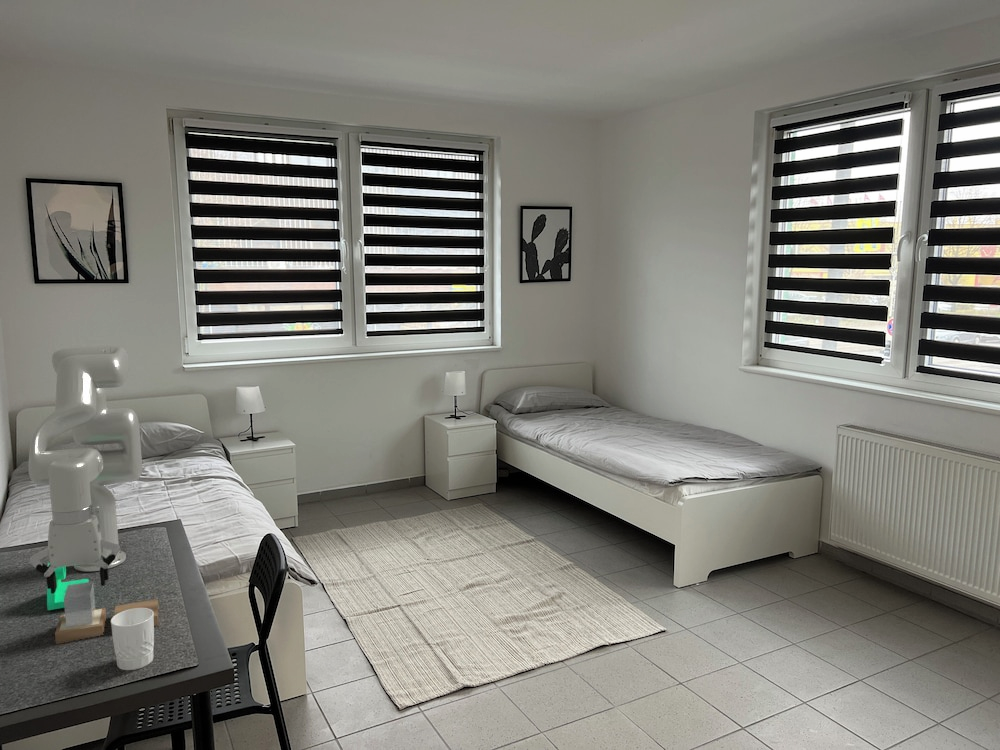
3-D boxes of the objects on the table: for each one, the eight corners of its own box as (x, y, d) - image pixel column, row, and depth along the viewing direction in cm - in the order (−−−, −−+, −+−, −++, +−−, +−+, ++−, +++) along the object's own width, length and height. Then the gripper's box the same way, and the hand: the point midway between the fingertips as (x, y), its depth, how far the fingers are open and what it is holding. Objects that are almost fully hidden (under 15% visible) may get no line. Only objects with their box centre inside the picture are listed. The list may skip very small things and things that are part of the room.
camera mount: (85, 608, 173) (81, 567, 171) (48, 614, 170) (44, 573, 168) (89, 588, 184) (86, 549, 182) (55, 593, 181) (51, 554, 179)
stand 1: (61, 625, 165) (60, 614, 164) (106, 617, 168) (105, 606, 168) (55, 644, 156) (54, 632, 156) (103, 635, 160) (102, 624, 160)
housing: (70, 614, 164) (67, 585, 163) (95, 610, 166) (93, 581, 165) (66, 628, 158) (63, 598, 157) (92, 624, 160) (90, 594, 159)
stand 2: (116, 615, 169) (115, 605, 169) (158, 608, 173) (157, 598, 172) (113, 633, 161) (112, 623, 161) (158, 626, 165) (157, 615, 164)
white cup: (128, 676, 145) (125, 629, 143) (106, 665, 149) (102, 619, 147) (164, 658, 151) (161, 613, 150) (142, 648, 155) (139, 604, 154)
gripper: (118, 503, 165) (123, 573, 168) (28, 513, 158) (36, 586, 161) (115, 515, 159) (121, 587, 162) (22, 526, 151) (30, 601, 155)
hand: (79, 586), depth 162 cm, fingers open, 9 cm apart
